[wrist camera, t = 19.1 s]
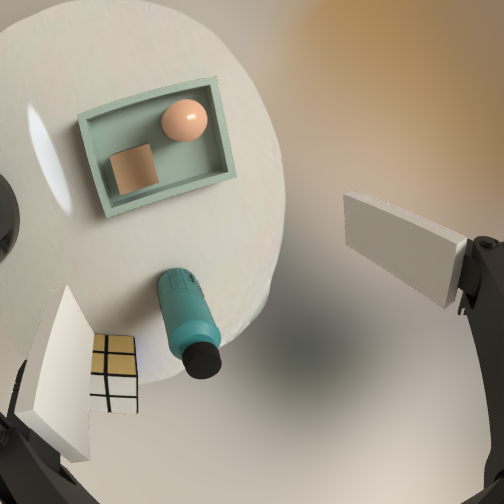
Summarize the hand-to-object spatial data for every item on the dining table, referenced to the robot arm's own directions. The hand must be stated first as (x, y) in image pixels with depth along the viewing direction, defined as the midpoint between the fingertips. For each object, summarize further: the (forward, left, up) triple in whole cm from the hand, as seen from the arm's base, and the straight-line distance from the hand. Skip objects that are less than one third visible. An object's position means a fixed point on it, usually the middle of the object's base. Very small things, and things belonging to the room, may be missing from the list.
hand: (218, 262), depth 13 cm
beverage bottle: (-3, -17, -31) cm, 35 cm away
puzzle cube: (-20, -27, -31) cm, 46 cm away
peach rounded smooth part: (+3, +6, -30) cm, 31 cm away
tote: (0, +4, -31) cm, 31 cm away
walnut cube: (-4, +2, -30) cm, 30 cm away
